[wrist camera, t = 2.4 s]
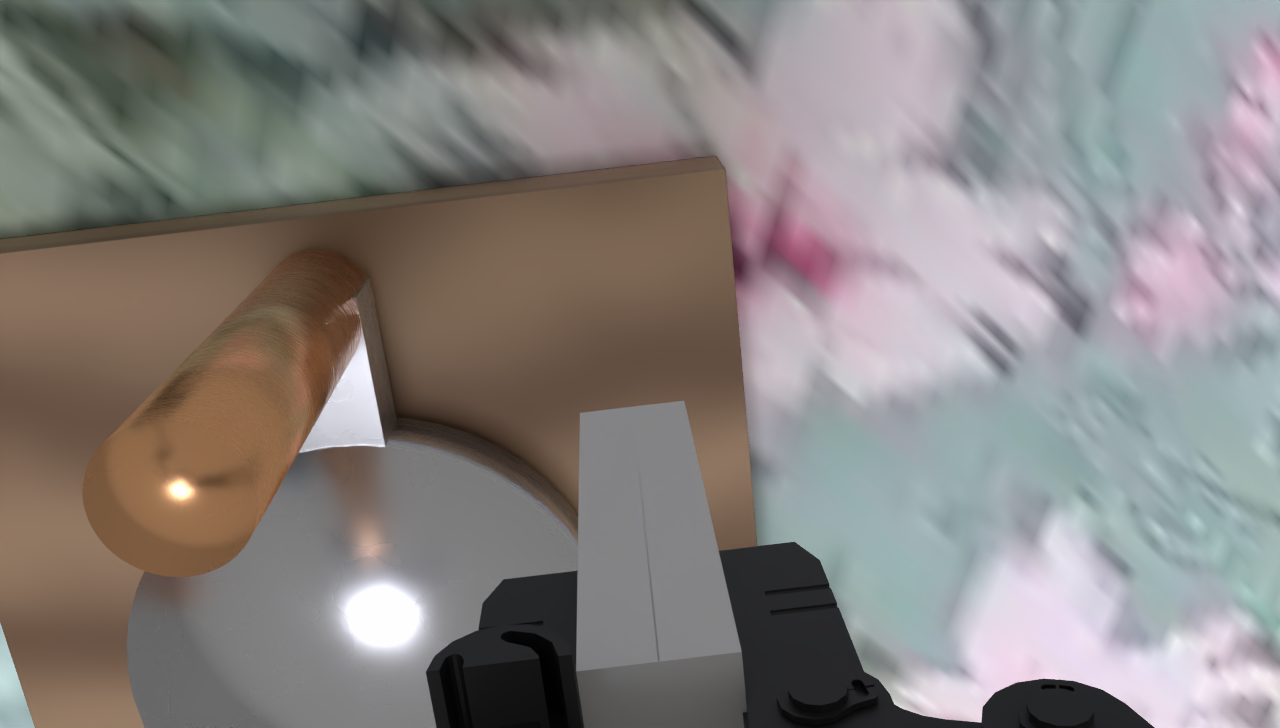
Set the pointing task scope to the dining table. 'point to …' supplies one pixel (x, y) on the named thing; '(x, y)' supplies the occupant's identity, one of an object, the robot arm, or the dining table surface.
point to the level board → (413, 347)
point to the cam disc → (306, 521)
